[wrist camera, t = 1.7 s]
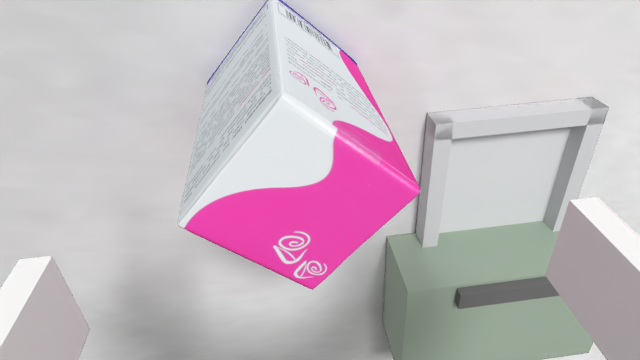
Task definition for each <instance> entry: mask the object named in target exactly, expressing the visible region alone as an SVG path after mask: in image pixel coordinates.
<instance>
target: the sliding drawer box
mask: <svg viewBox="0 0 640 360" xmlns="http://www.w3.org/2000/svg"><path fill="white" fill-rule="evenodd" d="M608 109H609V107H608V106H606V105H605V104H603V103H601V102H600V101H598V100H597V99H595V98H593V97H586V98H575V99H565V100H555V101H545V102H535V103H525V104H514V105H504V106H494V107H484V108H474V109H464V110H453V111H443V112H433V113H427V120H426V131H425V141H424V151H423V162H422V172H421V182H420V193H419V203H418V214H417V224H416V233H411V234H402V235H394V236H387V247H386V267H385V287H384V307H383V325H384V328H385V331H386V335H387V338H388V342H389V345H390V348H391V352H392V355H393V359H394V360H542V359H549V358H556V357H563V356H570V355H577V354H584V353H589V351H590V348H591V346H592V344H593V342H594V341H593V340H592V339H591V337H590V336H589V335H588V333H587V332H586V331H585V329H584V328H583V326H582V325H581V324H580V322H579V321H578V320H577V318H576V317H575V315H574V314H573V313H572V311H571V310H570V309H569V307H568V306H567V305H566V303H565V302H564V300H563V299H562V298H561V296H560V295H559V294H558V292H557V291H556V290H555V288H554V287H553V285H552V284H551V283H550V281H549V280H548V279H547V277H546V276H545V274H546V271H547V268H548V265H549V261H550V258H551V255H552V252H553V249H554V246H555V243H556V240H557V237H558V234H559V231H560V228H561V225H562V222H563V219H564V216H565V213H566V210H567V206H568V203H569V200H576V199H578V196H579V194H580V191H581V188H582V185H583V182H584V179H585V176H586V173H587V170H588V167H589V165H590V162H591V159H592V156H593V153H594V150H595V147H596V144H597V141H598V138H599V136H600V133H601V130H602V127H603V124H604V121H605V118H606V115H607V112H608Z"/></svg>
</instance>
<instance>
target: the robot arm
mask: <svg viewBox="0 0 640 360" xmlns="http://www.w3.org/2000/svg"><path fill="white" fill-rule="evenodd" d="M545 276H546V277H547V279H548V280H549V281H550V283H551V284H552V285H553V287H554V288H555V290H556V291H557V292H558V294H559V295H560V296H561V298H562V299H563V300H564V302H565V303H566V305H567V306H568V307H569V309H570V310H571V311H572V313H573V314H574V315H575V317H576V318H577V320H578V321H579V322H580V324H581V325H582V326H583V328H584V329H585V331H586V332H587V333H588V335H589V336H590V337H591V339H592V340H593V341H594V343H595V344H596V346H597V347H598V348H599V350H600V351H601V352H602V354H603V355H604V357H605V358H606V359H607V360H640V236H639V235H638V234H637V233H636V232H635V231H634V230H632V229H631V228H630V227H629V226H628V225H627V224H626V223H625V222H624V221H623V220H622V219H621V218H619V217H618V216H617V215H616V214H615V213H614V212H613V211H612V210H611V209H610V208H609V207H608V206H606V205H605V204H604V203H603V202H602V201H601V200H600V199H599V198H598V197H594V198H585V199H576V200H569V203H568V206H567V210H566V213H565V216H564V219H563V222H562V225H561V228H560V231H559V234H558V237H557V240H556V243H555V246H554V249H553V252H552V255H551V258H550V261H549V265H548V268H547V271H546V274H545ZM89 331H90V328H89V326H88V324H87V322H86V320H85V318H84V316H83V314H82V313H81V311H80V309H79V307H78V305H77V303H76V301H75V299H74V297H73V295H72V293H71V291H70V289H69V287H68V285H67V284H66V282H65V280H64V278H63V276H62V274H61V272H60V270H59V268H58V266H57V264H56V262H55V260H54V258H53V256H47V257H37V258H28V259H19V261H18V262H17V264H16V266H15V267H14V269H13V270H12V272H11V273H10V275H9V276H8V278H7V279H6V281H5V283H4V284H3V286H2V287H1V289H0V360H78V359H79V357H80V354H81V352H82V349H83V346H84V344H85V341H86V339H87V336H88V333H89Z"/></svg>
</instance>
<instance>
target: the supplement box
mask: <svg viewBox="0 0 640 360" xmlns="http://www.w3.org/2000/svg"><path fill="white" fill-rule="evenodd" d="M419 193H420V188H419V185H418V183H417V181H416V179H415V178H414V176H413V174H412V172H411V170H410V168H409V166H408V164H407V162H406V160H405V158H404V156H403V154H402V152H401V150H400V148H399V146H398V144H397V142H396V141H395V139H394V137H393V135H392V133H391V131H390V129H389V127H388V125H387V123H386V121H385V119H384V117H383V115H382V113H381V111H380V109H379V107H378V105H377V103H376V102H375V100H374V98H373V96H372V94H371V92H370V90H369V88H368V86H367V84H366V82H365V80H364V78H363V76H362V74H361V72H360V70H359V68H358V66H357V63H356V62H355V61H354V60H353V59H352V58H351V57H350V56H348V55H347V54H346V53H345V52H344V51H343V50H342V49H340V48H339V47H338V46H337V45H336V44H334V43H333V42H332V41H331V40H330V39H328V38H327V37H326V36H325V35H324V34H322V33H321V32H320V31H319V30H318V29H316V28H315V27H314V26H313V25H311V24H310V23H309V22H308V21H307V20H305V19H304V18H303V17H302V16H300V15H299V14H298V13H297V12H295V11H294V10H293V9H292V8H290V7H289V6H288V5H287V4H285V3H284V2H283V1H281V0H267V1H266V2H265V4H264V5H263V7H262V8H261V9H260V11H259V12H258V13H257V15H256V16H255V18H254V19H253V20H252V22H251V23H250V24H249V26H248V27H247V28H246V30H245V31H244V32H243V34H242V35H241V36H240V38H239V39H238V41H237V42H236V43H235V45H234V46H233V47H232V49H231V50H230V52H229V53H228V54H227V56H226V57H225V58H224V60H223V61H222V63H221V64H220V65H219V67H218V68H217V69H216V71H215V72H214V73H213V75H212V76H211V78H210V79H209V81H208V82H207V88H206V92H205V97H204V103H203V107H202V112H201V116H200V120H199V125H198V129H197V134H196V139H195V143H194V148H193V152H192V157H191V161H190V166H189V171H188V175H187V180H186V184H185V188H184V193H183V198H182V202H181V207H180V211H179V216H178V221H177V225H178V226H179V227H181V228H183V229H186V230H188V231H190V232H192V233H194V234H196V235H198V236H200V237H202V238H204V239H206V240H208V241H211V242H213V243H215V244H217V245H219V246H221V247H223V248H225V249H227V250H230V251H232V252H234V253H236V254H238V255H240V256H242V257H244V258H247V259H249V260H251V261H253V262H255V263H257V264H259V265H261V266H264V267H265V268H268V269H270V270H272V271H274V272H276V273H278V274H280V275H282V276H284V277H286V278H289V279H291V280H293V281H295V282H297V283H299V284H301V285H303V286H305V287H307V288H310V289H314V288H315V287H316V286H318V285H319V284H320V283H321V282H322V281H323V280H324V279H326V278H327V277H328V276H329V275H330V274H331V273H332V272H333V271H334V270H335V269H336V268H337V267H338V266H339V265H340V264H341V263H342V262H343V261H344V260H345V259H346V258H347V257H349V256H350V255H351V254H352V253H353V252H354V251H355V250H356V249H357V248H358V247H360V246H361V245H362V244H363V243H364V242H365V241H366V240H367V239H369V238H370V237H371V236H372V235H373V234H374V233H375V232H376V231H378V230H379V229H380V228H381V227H382V226H383V225H384V224H385V223H387V222H388V221H389V220H390V219H391V218H392V217H393V216H395V215H396V214H397V213H398V212H399V211H400V210H401V209H402V208H404V207H405V206H406V205H407V204H408V203H409V202H410V201H412V200H413V199H414V198H415V197H416V196H417V195H418V194H419Z"/></svg>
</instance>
